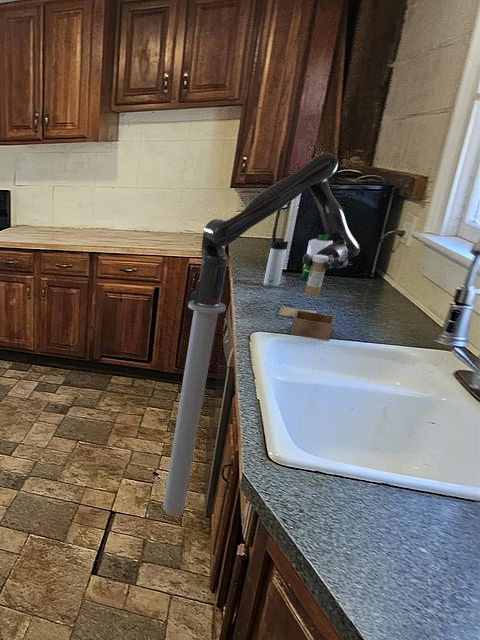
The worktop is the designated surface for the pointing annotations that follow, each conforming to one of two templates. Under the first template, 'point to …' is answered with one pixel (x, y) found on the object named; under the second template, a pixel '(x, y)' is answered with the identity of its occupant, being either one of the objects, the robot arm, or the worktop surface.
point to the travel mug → (275, 264)
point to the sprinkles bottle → (316, 275)
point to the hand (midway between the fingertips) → (317, 264)
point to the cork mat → (290, 311)
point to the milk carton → (315, 251)
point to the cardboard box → (312, 325)
